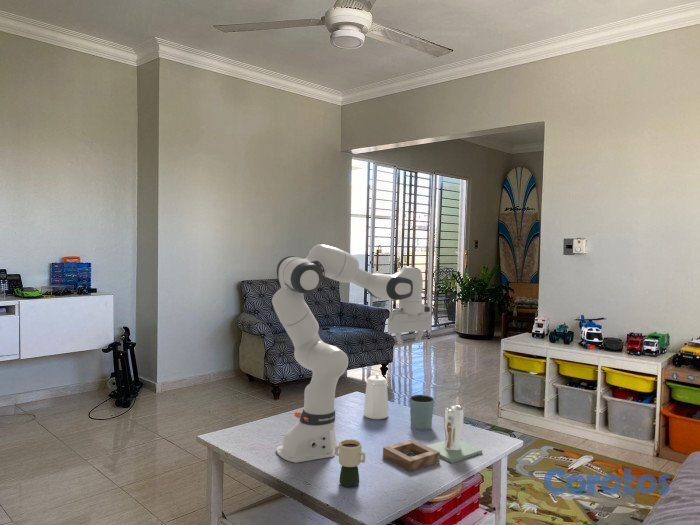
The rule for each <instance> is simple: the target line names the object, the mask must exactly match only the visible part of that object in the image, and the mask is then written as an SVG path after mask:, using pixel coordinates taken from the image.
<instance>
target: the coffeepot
mask: <svg viewBox="0 0 700 525" xmlns="http://www.w3.org/2000/svg"><path fill="white" fill-rule="evenodd" d="M365 382H366V386H365V394H364V402H363V403H364V404H363V405H364V406H363V416H364V417H365V418H367V419H370V420H383V419H386V418H388V416H389V401H388V400H389V399H388V398H389V397H388V396H389V395H388V380H387V379H386V378H385V377H384V376H383V375H382V376H381V375H380V373H378V372H377V373H374V375H371V376H368V378H367V379H366V380H365Z"/></svg>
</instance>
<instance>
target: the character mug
mask: <svg viewBox="0 0 700 525" xmlns="http://www.w3.org/2000/svg"><path fill="white" fill-rule="evenodd" d="M362 446H363V445H362V442H361V441H359V440H357V439H352V438H349V439H348V438H347V439H343V440H340V441H339V442H338V444H337V445H336V447H335V455H334V456H337V457H338V463H339V465H340V473H339V484H341V486H344V487H352V486H357V485H358V484H360V473H359V467H358V466H359V465H360V464H361V463H363V464H365V462H366V453H365V452H364V451H362Z"/></svg>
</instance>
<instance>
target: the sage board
mask: <svg viewBox="0 0 700 525" xmlns="http://www.w3.org/2000/svg"><path fill="white" fill-rule="evenodd" d="M460 444H461V450H460V451H449V450H446V449H445V448H444V445H445V439H444V440H442V441H438V442H435V443H431V444H428V445H427V444H426V446H427V447H430V448H432V449H434V450H436V451H438V452H440V459H442V460H444V461H447V462H448V463H450V462H451V464H454V463H458V462H459V461H463V460H465V459H469V458H472V457H474V455H475V456H478V455H481V454H483V449H481V448H479V447H477V446H474V445H472V444H469V443H467V442H465V441H463V440H460ZM480 453H481V454H480ZM477 454H478V455H477ZM471 456H472V457H471ZM468 457H469V458H468Z"/></svg>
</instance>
